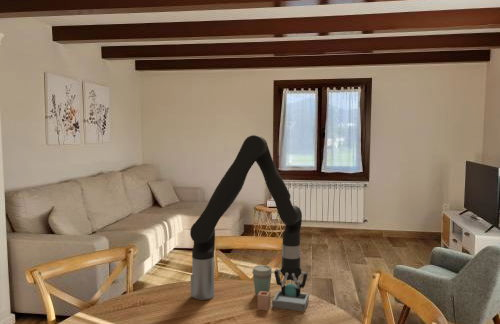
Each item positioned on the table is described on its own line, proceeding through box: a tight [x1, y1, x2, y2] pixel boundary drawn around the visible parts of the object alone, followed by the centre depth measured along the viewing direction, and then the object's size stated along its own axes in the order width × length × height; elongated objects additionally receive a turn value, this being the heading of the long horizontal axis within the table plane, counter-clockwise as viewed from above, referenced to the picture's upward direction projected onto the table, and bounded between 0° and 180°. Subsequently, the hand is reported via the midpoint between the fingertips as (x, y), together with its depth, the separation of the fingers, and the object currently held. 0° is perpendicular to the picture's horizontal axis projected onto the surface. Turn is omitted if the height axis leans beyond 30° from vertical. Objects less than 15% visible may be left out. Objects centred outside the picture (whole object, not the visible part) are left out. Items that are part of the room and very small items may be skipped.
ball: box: [285, 283, 297, 296], centre depth 165 cm, size 5×5×5 cm
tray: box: [271, 290, 310, 312], centre depth 165 cm, size 13×11×3 cm
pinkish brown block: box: [257, 291, 271, 312], centre depth 161 cm, size 4×4×6 cm
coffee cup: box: [252, 264, 273, 298], centre depth 174 cm, size 8×8×12 cm
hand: (290, 295), depth 165 cm, fingers closed on ball, 5 cm apart
